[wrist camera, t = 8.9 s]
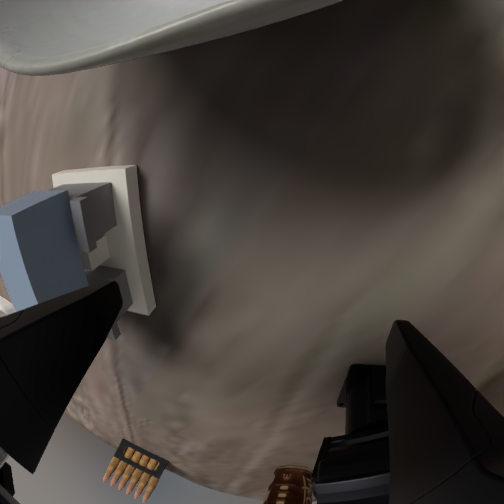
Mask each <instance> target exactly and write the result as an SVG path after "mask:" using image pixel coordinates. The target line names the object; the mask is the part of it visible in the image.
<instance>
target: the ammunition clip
mask: <svg viewBox="0 0 504 504" xmlns="http://www.w3.org/2000/svg"><path fill="white" fill-rule="evenodd" d="M126 450H127V451H126ZM125 452H126V453H125ZM123 455H124V456H123ZM132 456H133V457H132ZM141 457H142V458H141ZM131 458H132V459H131ZM140 459H141V460H140ZM149 460H150V461H149ZM139 461H140V462H139ZM119 462H120V463H119ZM148 462H149V463H148ZM138 463H139V464H138ZM157 463H158V464H157ZM167 463H168V460H165V459H163V458H161V457H159V456H157V455H154V454H152V453H150V452H148V451H146V450H144V449H142V448H140V447H138V446H136V445H134V444H133V443H131V442H129V441H127V440H125V439H122V441H121V443H120V445H119V447H118V449H117V451H116V453H115V455H114V457H113V459H112V460H111V462H110V464H109V466H108V469H107V471H106V473H105V475H104V478H103V482H105V481H107V480H108V479H109V478H110V476H111V474H112V473H113V472H114V470H115V469H116V468H117V469H116V472H115V474H114V476H113V478H112V481H111V487H112V486H114V485H115V484H116V482H117V481H118V479H119V478H120V476H121V475H122V474H123V473H124V475H123V478H122V480H121V482H120V484H119V488H118V489H119V491H120V490H122V489H123V488H124V486H125V485H126V483H127V481H128V480H129V479H130V477H131V476H132V477H131V481H130V483H129V485H128V488H127V491H126V495H128V494H130V493H131V491H132V490H133V488H134V487H135V485H136V484H137V482H138V481H139V479H140V477H141V475H142V474H143V475H142V477H141V479H140V481H139V485H138V487H137V489H136V492H135V496H134V498H135V499H137V498H138V497H139V496H140V494H141V493H142V491H143V489H144V488H145V486H146V485H147V483H148V481H149V479H150V477H151V479H150V481H149V483H148V485H147V489H146V492H145V494H144V496H143V503H145V502H146V501H147V500H148V498H149V497H150V495H151V493H152V492H153V490H154V489H155V487H156V485H157V483H158V481H159V479H160V477H161V475H162V473H163V471H164V469H165V467H166V465H167ZM118 464H119V465H118ZM147 464H148V465H147ZM127 465H128V466H127ZM156 465H157V466H156ZM117 466H118V467H117ZM146 466H147V467H146ZM126 467H127V468H126ZM155 467H156V468H155ZM125 469H126V470H125ZM154 469H155V470H154ZM134 470H135V471H134ZM124 471H125V472H124ZM133 472H134V473H133ZM132 473H133V475H132Z"/></svg>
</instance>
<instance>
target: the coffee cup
mask: <svg viewBox="0 0 504 504" xmlns="http://www.w3.org/2000/svg"><path fill="white" fill-rule="evenodd" d="M274 475H275V479H274V481H273V482H272V484H271V485H270V486H269V489H268V492H267V495H266V497H265V500H264V502H263V504H312V499H311V496H312V485H311V475H312V470H311V469H309V468H306V467H302V466H284V467H279V468H277V469H276V470H275V472H274Z"/></svg>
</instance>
